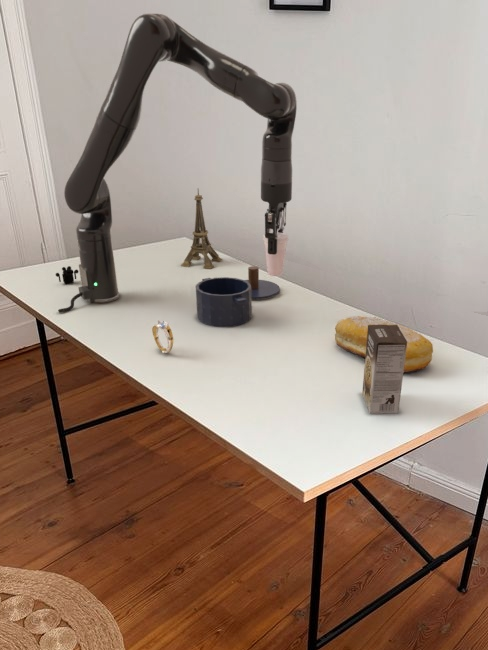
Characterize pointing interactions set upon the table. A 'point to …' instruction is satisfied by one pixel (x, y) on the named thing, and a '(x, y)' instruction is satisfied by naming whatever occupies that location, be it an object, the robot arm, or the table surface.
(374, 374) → the coffee box
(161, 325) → the ring
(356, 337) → the bread
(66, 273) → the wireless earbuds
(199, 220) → the eiffel tower
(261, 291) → the lid
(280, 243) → the smoothie
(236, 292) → the pot
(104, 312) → the table surface
